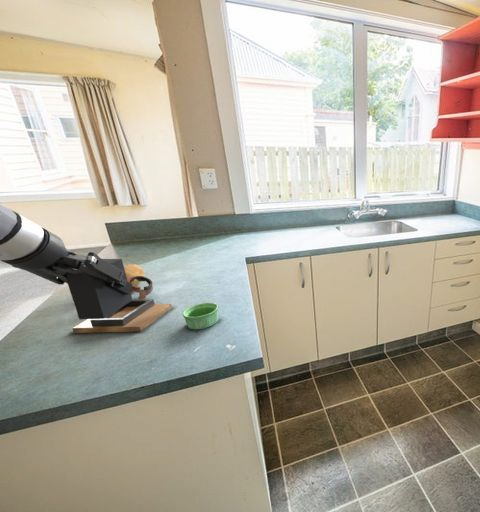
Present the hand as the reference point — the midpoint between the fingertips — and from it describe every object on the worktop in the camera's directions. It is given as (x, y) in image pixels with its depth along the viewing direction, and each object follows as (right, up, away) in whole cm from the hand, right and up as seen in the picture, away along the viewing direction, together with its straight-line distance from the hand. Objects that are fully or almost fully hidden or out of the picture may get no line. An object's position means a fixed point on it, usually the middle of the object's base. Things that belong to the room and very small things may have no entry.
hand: (115, 289), depth 72 cm
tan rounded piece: (-31, -4, +40) cm, 51 cm away
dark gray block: (0, -4, -2) cm, 5 cm away
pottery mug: (-23, -7, +31) cm, 39 cm away
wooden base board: (-13, -11, +18) cm, 24 cm away
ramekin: (+11, -12, +16) cm, 23 cm away
